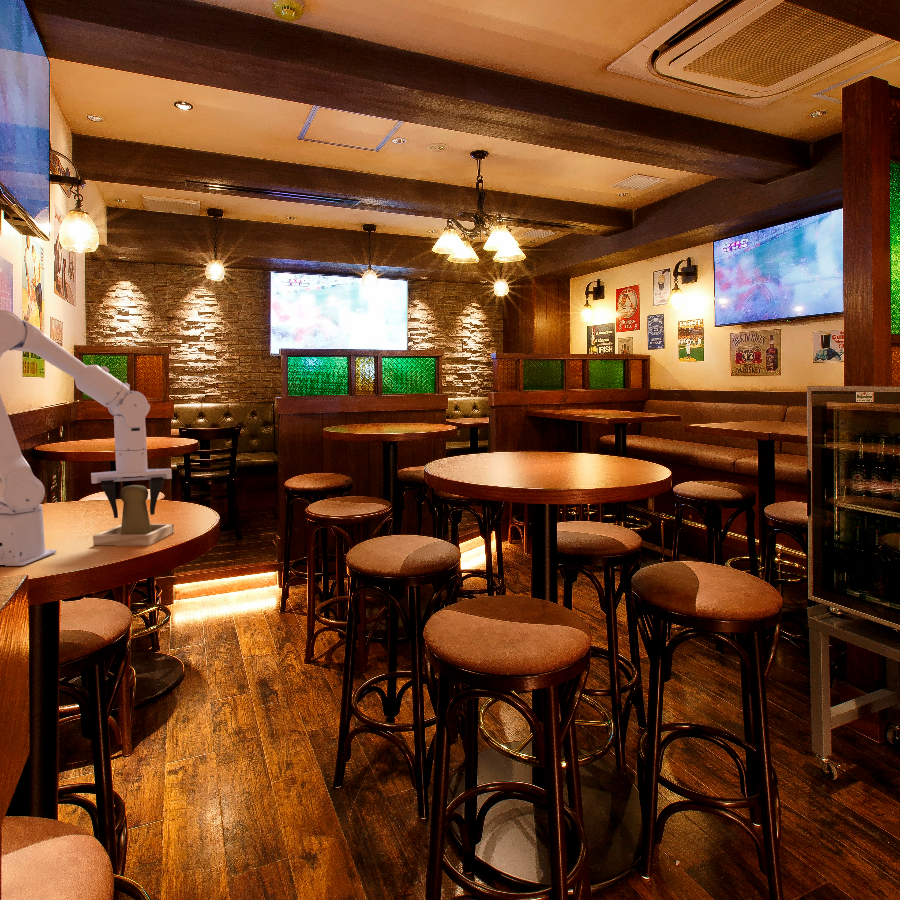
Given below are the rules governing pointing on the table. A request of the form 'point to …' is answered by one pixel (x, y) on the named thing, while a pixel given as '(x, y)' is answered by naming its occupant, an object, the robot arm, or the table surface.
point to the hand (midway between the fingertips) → (134, 515)
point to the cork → (135, 511)
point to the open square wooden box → (133, 536)
